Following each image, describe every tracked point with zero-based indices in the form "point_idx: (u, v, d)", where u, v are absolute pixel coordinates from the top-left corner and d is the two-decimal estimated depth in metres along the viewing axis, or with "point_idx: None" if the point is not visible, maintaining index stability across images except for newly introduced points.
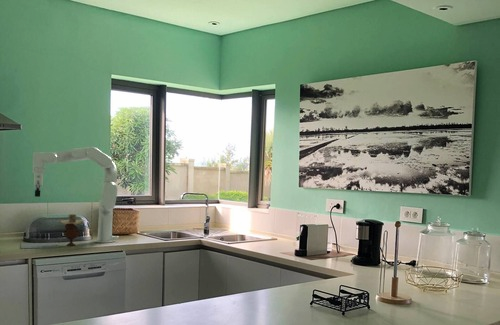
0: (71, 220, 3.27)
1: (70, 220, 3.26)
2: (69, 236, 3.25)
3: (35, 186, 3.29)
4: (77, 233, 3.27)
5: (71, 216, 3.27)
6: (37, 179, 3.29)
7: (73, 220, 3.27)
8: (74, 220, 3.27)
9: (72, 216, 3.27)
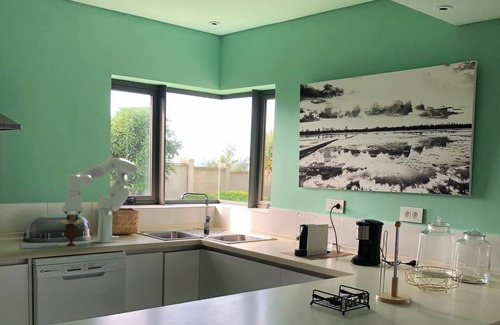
0: (71, 220, 3.27)
1: (70, 220, 3.26)
2: (69, 236, 3.25)
3: None
4: (77, 233, 3.27)
5: (71, 216, 3.27)
6: None
7: (73, 220, 3.27)
8: (74, 220, 3.27)
9: (72, 216, 3.27)
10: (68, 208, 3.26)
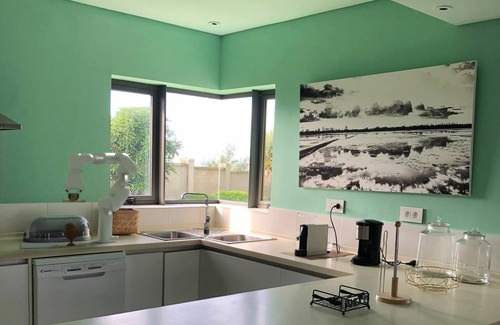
0: (72, 199, 3.27)
1: (71, 198, 3.27)
2: (69, 236, 3.25)
3: None
4: (77, 233, 3.27)
5: (72, 195, 3.27)
6: None
7: (74, 199, 3.27)
8: (75, 199, 3.28)
9: (73, 194, 3.27)
10: (69, 186, 3.26)
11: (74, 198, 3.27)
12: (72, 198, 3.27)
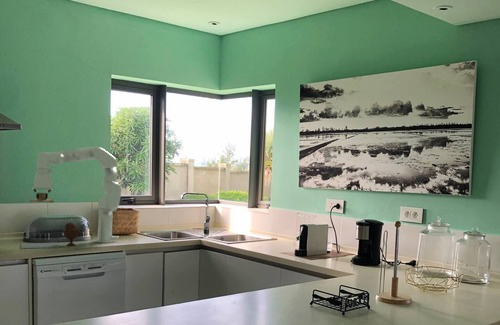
0: (40, 198, 3.19)
1: (39, 198, 3.19)
2: (69, 236, 3.25)
3: None
4: (77, 233, 3.27)
5: (40, 194, 3.19)
6: None
7: (42, 198, 3.20)
8: (44, 198, 3.20)
9: (41, 194, 3.19)
10: (37, 186, 3.19)
11: (42, 198, 3.20)
12: (40, 198, 3.19)
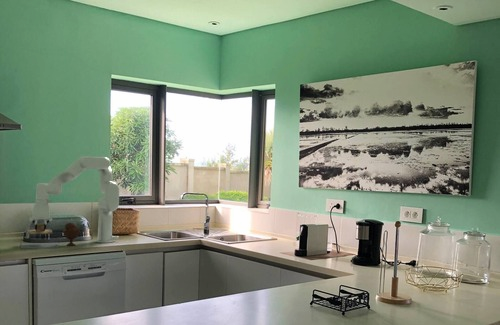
0: (39, 230, 3.19)
1: (38, 230, 3.19)
2: (69, 236, 3.25)
3: None
4: (77, 233, 3.27)
5: (39, 226, 3.19)
6: (49, 211, 3.23)
7: (41, 230, 3.19)
8: (42, 230, 3.20)
9: (40, 225, 3.19)
10: (36, 217, 3.19)
11: (41, 229, 3.19)
12: (39, 229, 3.19)
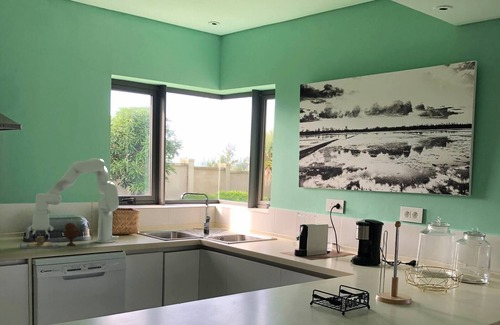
0: (39, 243, 3.19)
1: (38, 243, 3.19)
2: (69, 236, 3.25)
3: None
4: (77, 233, 3.27)
5: (39, 239, 3.19)
6: None
7: (41, 243, 3.20)
8: (42, 243, 3.20)
9: (40, 238, 3.19)
10: (35, 228, 3.19)
11: (40, 242, 3.19)
12: (38, 242, 3.19)
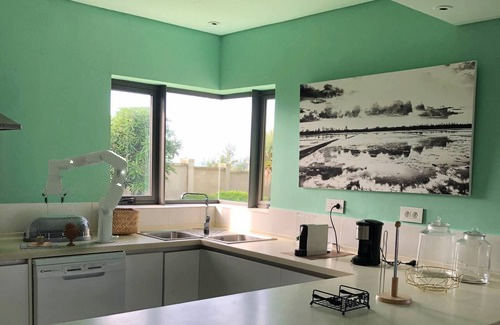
0: (39, 243, 3.19)
1: (38, 243, 3.19)
2: (69, 236, 3.25)
3: None
4: (77, 233, 3.27)
5: (39, 239, 3.19)
6: None
7: (41, 243, 3.20)
8: (42, 243, 3.20)
9: (40, 238, 3.19)
10: (49, 192, 3.30)
11: (40, 242, 3.19)
12: (38, 242, 3.19)
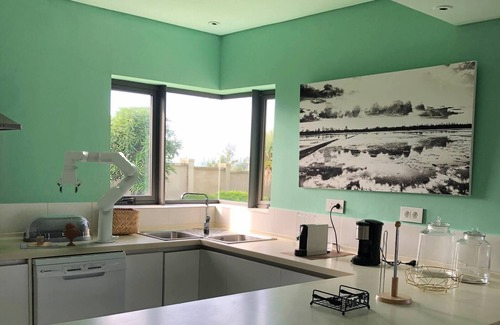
0: (39, 243, 3.19)
1: (38, 243, 3.19)
2: (69, 236, 3.25)
3: None
4: (77, 233, 3.27)
5: (39, 239, 3.19)
6: (76, 176, 3.50)
7: (41, 243, 3.20)
8: (42, 243, 3.20)
9: (40, 238, 3.19)
10: (64, 182, 3.46)
11: (40, 242, 3.19)
12: (38, 242, 3.19)
